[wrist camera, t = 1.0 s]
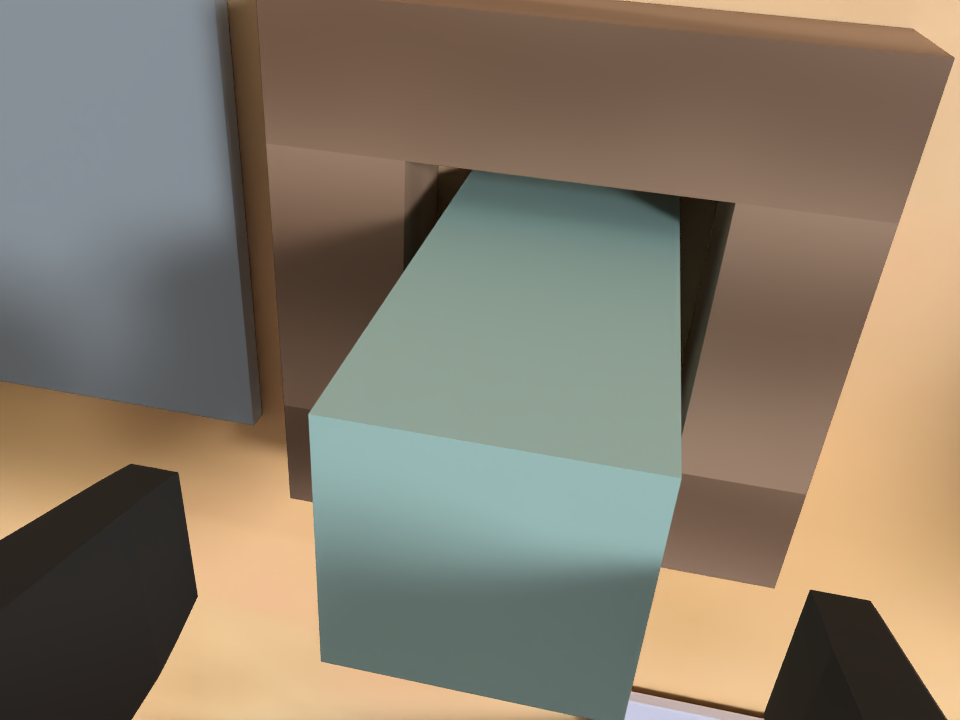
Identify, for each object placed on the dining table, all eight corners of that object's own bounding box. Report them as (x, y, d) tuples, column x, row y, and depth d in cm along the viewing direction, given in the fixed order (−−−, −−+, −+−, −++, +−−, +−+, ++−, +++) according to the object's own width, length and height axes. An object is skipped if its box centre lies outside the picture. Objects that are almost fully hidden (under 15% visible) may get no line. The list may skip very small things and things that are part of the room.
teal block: (645, 367, 18) (622, 725, 11) (464, 339, 19) (321, 661, 11) (679, 190, 16) (682, 478, 9) (475, 164, 17) (308, 414, 9)
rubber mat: (262, 413, 21) (253, 425, 21) (-94, 352, 22) (-109, 361, 22) (224, -24, 16) (212, -21, 15) (-235, -69, 17) (-258, -67, 17)
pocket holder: (763, 509, 19) (774, 588, 17) (329, 433, 21) (290, 497, 19) (913, 28, 14) (954, 58, 12) (313, -30, 15) (255, -12, 13)
